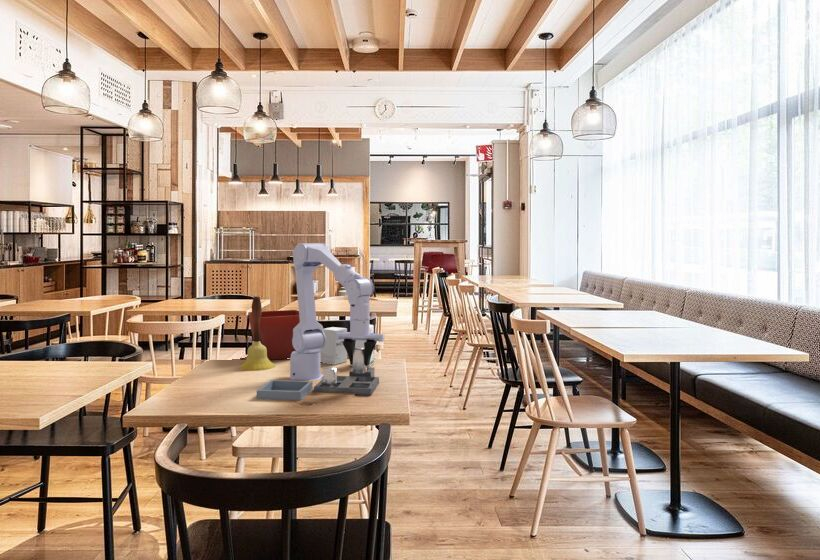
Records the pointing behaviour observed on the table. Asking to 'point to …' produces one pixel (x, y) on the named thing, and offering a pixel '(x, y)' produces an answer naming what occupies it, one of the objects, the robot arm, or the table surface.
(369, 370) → the button housing
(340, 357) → the supplement box
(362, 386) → the frame
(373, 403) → the table surface
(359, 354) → the billet
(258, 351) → the handbell
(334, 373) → the cylinder
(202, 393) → the table surface
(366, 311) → the robot arm
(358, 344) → the syrup box
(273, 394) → the tote
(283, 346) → the plant pot
